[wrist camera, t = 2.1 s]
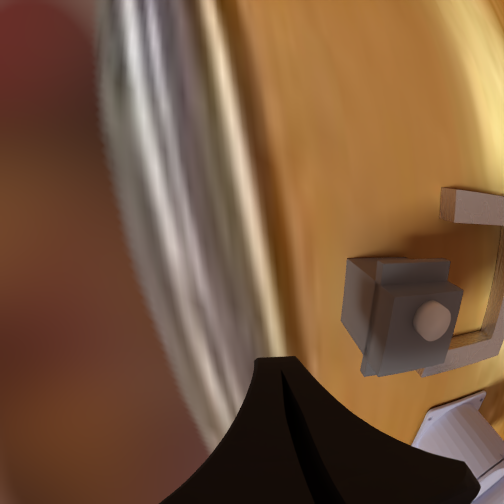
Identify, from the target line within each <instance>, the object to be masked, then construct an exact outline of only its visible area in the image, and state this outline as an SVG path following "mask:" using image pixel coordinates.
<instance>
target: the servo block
mask: <svg viewBox="0 0 504 504" xmlns="http://www.w3.org/2000/svg"><path fill="white" fill-rule="evenodd" d="M449 267H450V261H449V260H447V259H445V258H432V259H408V258H406V257H387V258H347V265H346V277H345V287H344V297H343V306H342V315H341V322H342V323H343V325H344V326H345V328H346V329H347V331H348V332H349V334H350V335H351V337H352V338H353V340H354V341H355V343H356V344H357V346H358V347H359V349H360V350H361V352H362V353H363V359H362V364H361V369H360V371H361V373H362V374H363V376H364V377H366V376H372V375H377V376H378V377H381V376H387V375H392V374H398V373H403V372H408V371H413V370H417V369H422V368H426V367H430V366H435V365H439V364H443V363H444V361H445V358H446V355H447V352H448V349H449V346H450V342H451V339H452V335H453V332H454V328H455V325H456V321H457V317H458V313H459V309H460V304H461V300H462V295H463V291H464V290H462V289H460V288H459V287H457V286H455V285H454V284H452V283H450V282H449V281H447V279H448V274H449Z"/></svg>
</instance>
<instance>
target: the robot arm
mask: <svg viewBox="0 0 504 504" xmlns="http://www.w3.org/2000/svg"><path fill="white" fill-rule="evenodd" d="M485 396H486V392H485V391H481V392H478V393H476V394H473V395H471V396H468V397H465V398H462V399H460V400H457V401H454V402H451V403H448V404H445V405H442V406H439V407H436V408H433V409H430V410H429V411H428V412H427V414H426V416H425V418H424V421H423V423H422V425H421V427H420V429H419V431H418V433H417V435H416V437H415V439H414V441H413V443H412V445H411V446H410V445H408V444H406V443H403V442H401V441H399V440H397V439H395V438H393V437H391V436H389V435H387V434H385V433H383V432H381V431H379V430H378V429H376V428H374V427H373V426H371V425H369V424H368V423H366V422H365V421H363V420H362V419H360V418H359V417H357V416H356V415H355V414H353V413H352V412H351V411H349V410H348V409H347V408H346V407H345V406H343V405H342V404H341V403H340V402H339V401H337V400H336V399H335V398H334V397H333V396H332V395H331V394H330V393H329V392H328V391H327V390H326V389H325V388H324V387H323V386H322V385H321V384H320V383H319V382H318V381H317V380H316V379H315V378H314V377H313V376H312V375H311V374H310V372H309V371H308V370H307V369H306V368H305V367H304V366H303V364H302V363H301V362H300V361H299V360H298V358H296V357H295V356H288V357H267V358H257V359H256V360H255V361H254V372H253V377H252V380H251V384H250V386H249V389H248V392H247V395H246V397H245V399H244V402H243V404H242V406H241V408H240V410H239V412H238V414H237V416H236V418H235V420H234V421H233V423H232V425H231V427H230V428H229V430H228V431H227V433H226V434H225V436H224V438H223V439H222V440H221V442H220V443H219V444H218V446H217V447H216V448H215V450H214V451H213V452H212V454H211V455H210V456H209V457H208V459H207V460H206V461H205V462H204V463H203V464H202V465H201V466H200V467H199V468H198V469H197V470H196V472H195V473H194V474H193V475H192V476H191V477H190V478H189V479H188V480H187V481H186V482H185V483H183V484H182V485H181V486H180V487H179V488H178V489H177V490H175V491H174V492H173V493H172V494H171V495H169V496H168V497H167V498H165V499H164V500H163V501H162V502H161V503H159V504H504V441H503V440H502V438H501V437H500V436H499V435H498V433H497V432H496V431H495V430H494V429H493V427H492V426H491V425H490V424H489V423H488V422H487V420H486V419H485V418H484V417H483V416H482V415H481V413H480V412H479V411H478V410H479V408H480V406H481V404H482V402H483V400H484V398H485Z"/></svg>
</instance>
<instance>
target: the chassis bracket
mask: <svg viewBox="0 0 504 504" xmlns="http://www.w3.org/2000/svg"><path fill="white" fill-rule="evenodd" d="M440 219H443V220H446V221H450V222H453V223H469V224H486V225H501V226H502V228H501V236H500V244H499V251H498V257H497V263H496V269H495V274H494V279H493V284H492V289H491V293H490V297H489V301H488V305H487V309H486V313H485V317H484V320H483V324H482V327H481V330H480V331H476V332H472V333H468V334H463V335H459V336H454V337H452V339H451V342H450V346H449V349H448V352H447V355H446V358H445V361H444V363H443V364H439V365H435V366H430V367H426V368H422V369H417V370H416V371H417V373H418V374H419V375H420V376H421V377H426V376H430V375H434V374H438V373H441V372H445V371H449V370H452V369H456V368H459V367H463V366H466V365H469V364H473V363H476V362H479V361H482V360H485V359H488V358H491V357H494V356H497V355H498V354H499V351H500V348H501V345H502V343H503V340H504V197H503V196H497V195H491V194H485V193H479V192H472V191H465V190H457V189H450V188H441V205H440Z"/></svg>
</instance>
